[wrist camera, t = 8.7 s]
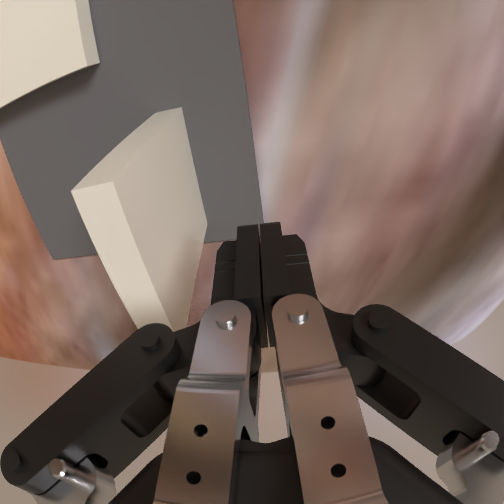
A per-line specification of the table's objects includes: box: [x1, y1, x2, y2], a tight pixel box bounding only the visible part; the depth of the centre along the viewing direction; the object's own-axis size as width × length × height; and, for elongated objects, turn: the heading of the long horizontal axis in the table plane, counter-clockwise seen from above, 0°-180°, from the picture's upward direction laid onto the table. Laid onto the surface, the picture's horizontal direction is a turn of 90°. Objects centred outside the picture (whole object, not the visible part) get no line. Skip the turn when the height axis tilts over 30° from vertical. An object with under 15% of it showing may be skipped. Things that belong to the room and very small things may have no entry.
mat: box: [0, 0, 264, 259], centre depth 16 cm, size 18×22×1 cm
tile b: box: [71, 107, 207, 332], centre depth 15 cm, size 2×8×10 cm, turn 7°
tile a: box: [0, 0, 100, 109], centre depth 12 cm, size 2×8×10 cm
